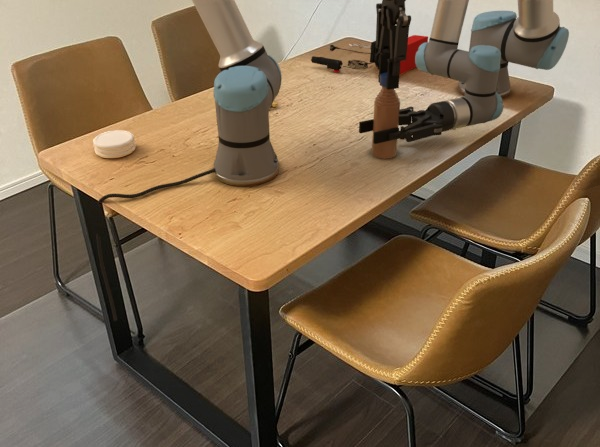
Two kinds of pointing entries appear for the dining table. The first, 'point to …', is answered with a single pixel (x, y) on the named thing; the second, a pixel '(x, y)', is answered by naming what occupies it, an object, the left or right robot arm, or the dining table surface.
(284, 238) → the dining table surface
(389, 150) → the bottle
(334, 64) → the electric hoist
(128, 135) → the coaster
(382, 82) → the cap
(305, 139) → the dining table surface
